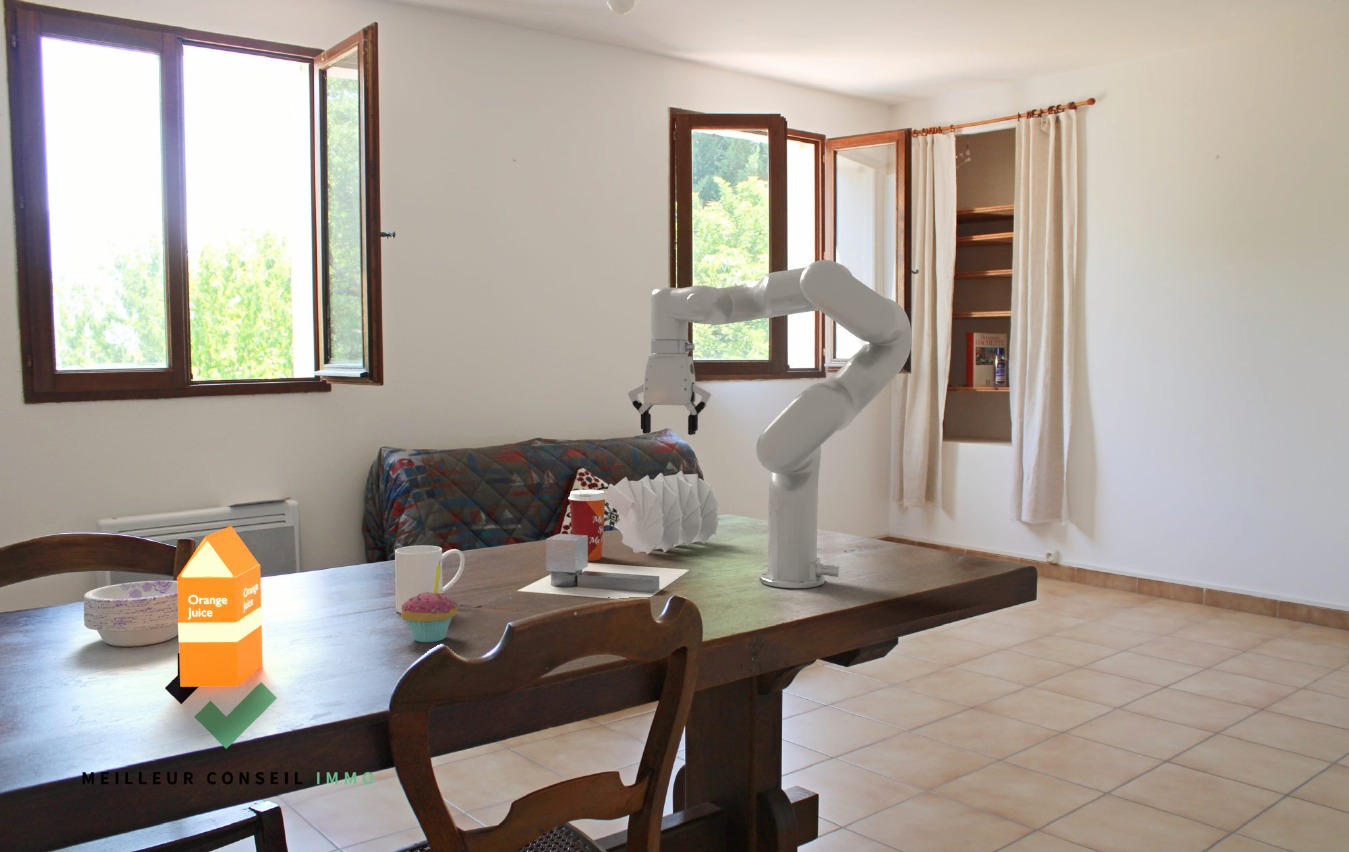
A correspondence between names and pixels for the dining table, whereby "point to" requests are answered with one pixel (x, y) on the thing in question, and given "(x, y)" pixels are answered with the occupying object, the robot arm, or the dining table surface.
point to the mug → (420, 571)
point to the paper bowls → (133, 612)
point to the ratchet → (605, 581)
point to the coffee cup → (588, 518)
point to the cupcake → (429, 613)
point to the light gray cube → (566, 553)
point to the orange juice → (219, 613)
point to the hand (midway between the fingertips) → (669, 433)
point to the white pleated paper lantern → (664, 511)
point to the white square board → (664, 579)
